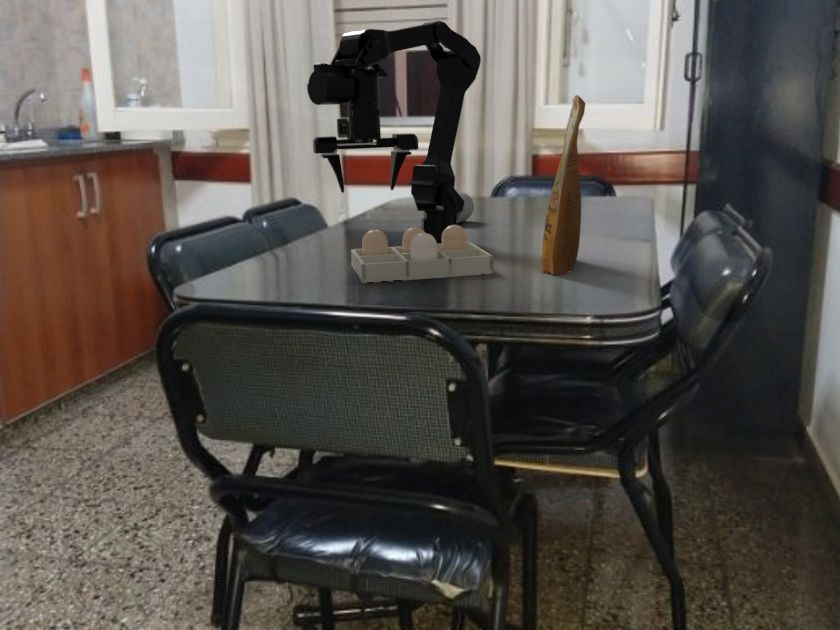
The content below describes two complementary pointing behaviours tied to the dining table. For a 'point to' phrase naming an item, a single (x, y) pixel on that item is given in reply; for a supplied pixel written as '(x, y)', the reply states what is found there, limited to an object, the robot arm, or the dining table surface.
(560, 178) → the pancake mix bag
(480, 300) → the dining table surface
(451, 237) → the carton
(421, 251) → the egg
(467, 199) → the ceramic mug
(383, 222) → the dining table surface
